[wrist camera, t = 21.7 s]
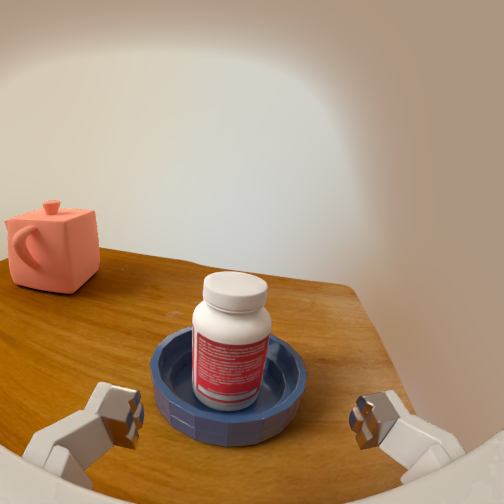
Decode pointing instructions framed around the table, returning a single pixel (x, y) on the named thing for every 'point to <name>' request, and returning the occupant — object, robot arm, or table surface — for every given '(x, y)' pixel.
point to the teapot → (53, 248)
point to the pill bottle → (230, 340)
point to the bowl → (227, 422)
